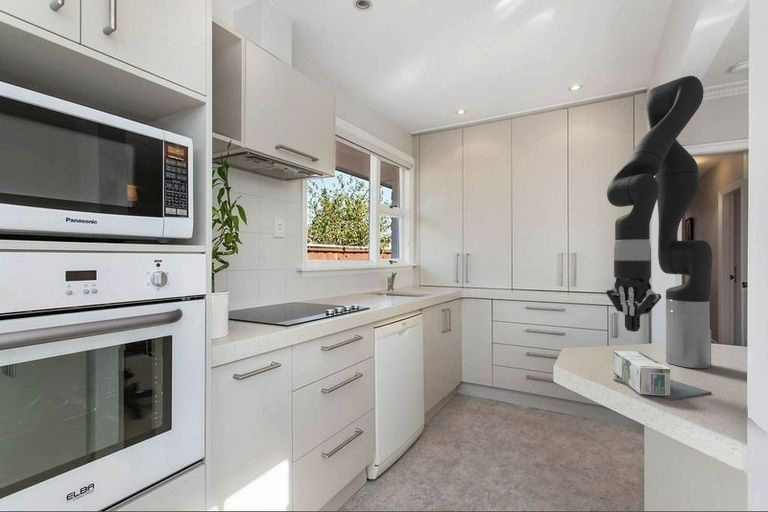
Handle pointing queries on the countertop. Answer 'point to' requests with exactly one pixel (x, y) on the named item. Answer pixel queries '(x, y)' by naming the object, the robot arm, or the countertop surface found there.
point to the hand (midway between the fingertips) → (632, 330)
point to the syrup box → (642, 373)
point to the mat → (679, 390)
